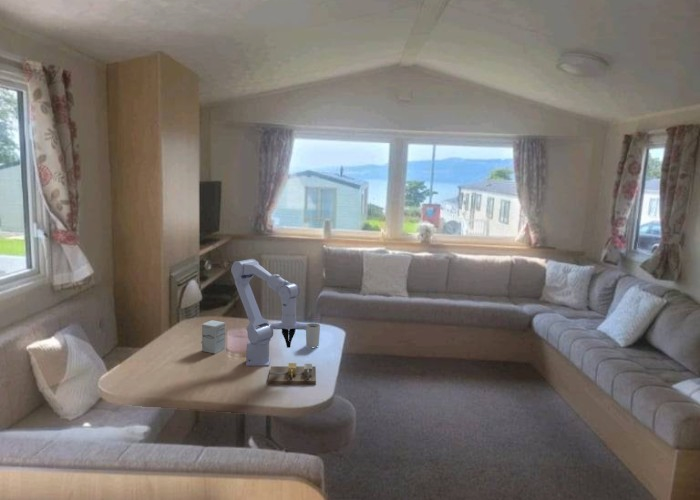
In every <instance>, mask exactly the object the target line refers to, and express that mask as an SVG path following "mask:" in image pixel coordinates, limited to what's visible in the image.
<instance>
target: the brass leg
mask: <svg viewBox="0 0 700 500" xmlns="http://www.w3.org/2000/svg"><path fill="white" fill-rule="evenodd" d="M296 366H297V362H288V375H291V379H293V375H296Z"/></svg>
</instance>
